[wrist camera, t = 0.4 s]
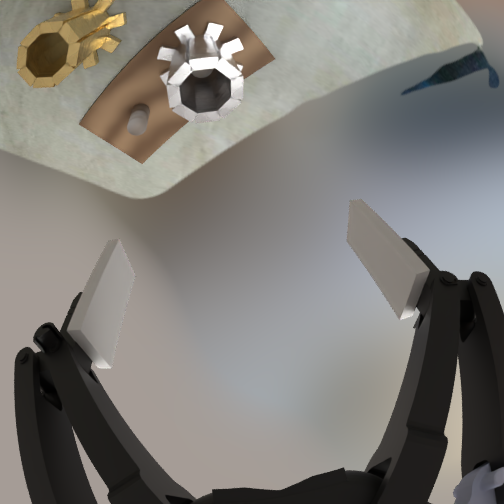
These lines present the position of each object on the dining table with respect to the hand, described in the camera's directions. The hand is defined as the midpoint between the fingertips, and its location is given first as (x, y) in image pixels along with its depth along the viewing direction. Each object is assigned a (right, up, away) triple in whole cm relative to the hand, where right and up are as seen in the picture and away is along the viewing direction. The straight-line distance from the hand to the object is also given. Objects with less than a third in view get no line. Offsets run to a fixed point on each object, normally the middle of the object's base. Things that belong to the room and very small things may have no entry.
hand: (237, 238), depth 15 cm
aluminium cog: (-6, +26, +15) cm, 30 cm away
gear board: (-11, +24, +17) cm, 31 cm away
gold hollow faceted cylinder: (-21, +29, +6) cm, 36 cm away
